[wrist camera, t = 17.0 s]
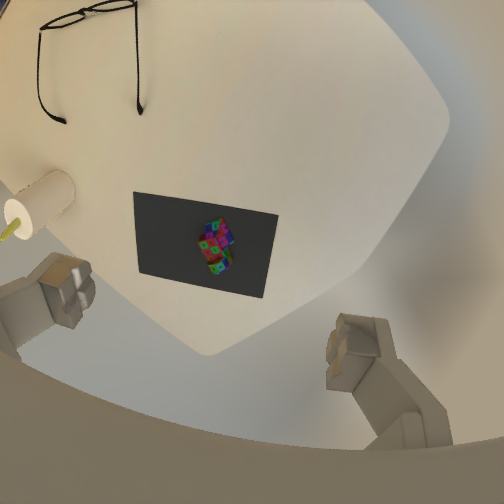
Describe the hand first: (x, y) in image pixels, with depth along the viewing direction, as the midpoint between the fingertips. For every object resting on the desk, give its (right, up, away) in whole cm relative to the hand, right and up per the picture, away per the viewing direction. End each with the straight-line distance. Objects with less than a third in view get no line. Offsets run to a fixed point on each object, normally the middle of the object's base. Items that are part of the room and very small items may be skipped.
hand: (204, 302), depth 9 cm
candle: (-29, +12, +33) cm, 45 cm away
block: (-3, +3, +34) cm, 34 cm away
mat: (-6, +2, +35) cm, 35 cm away
